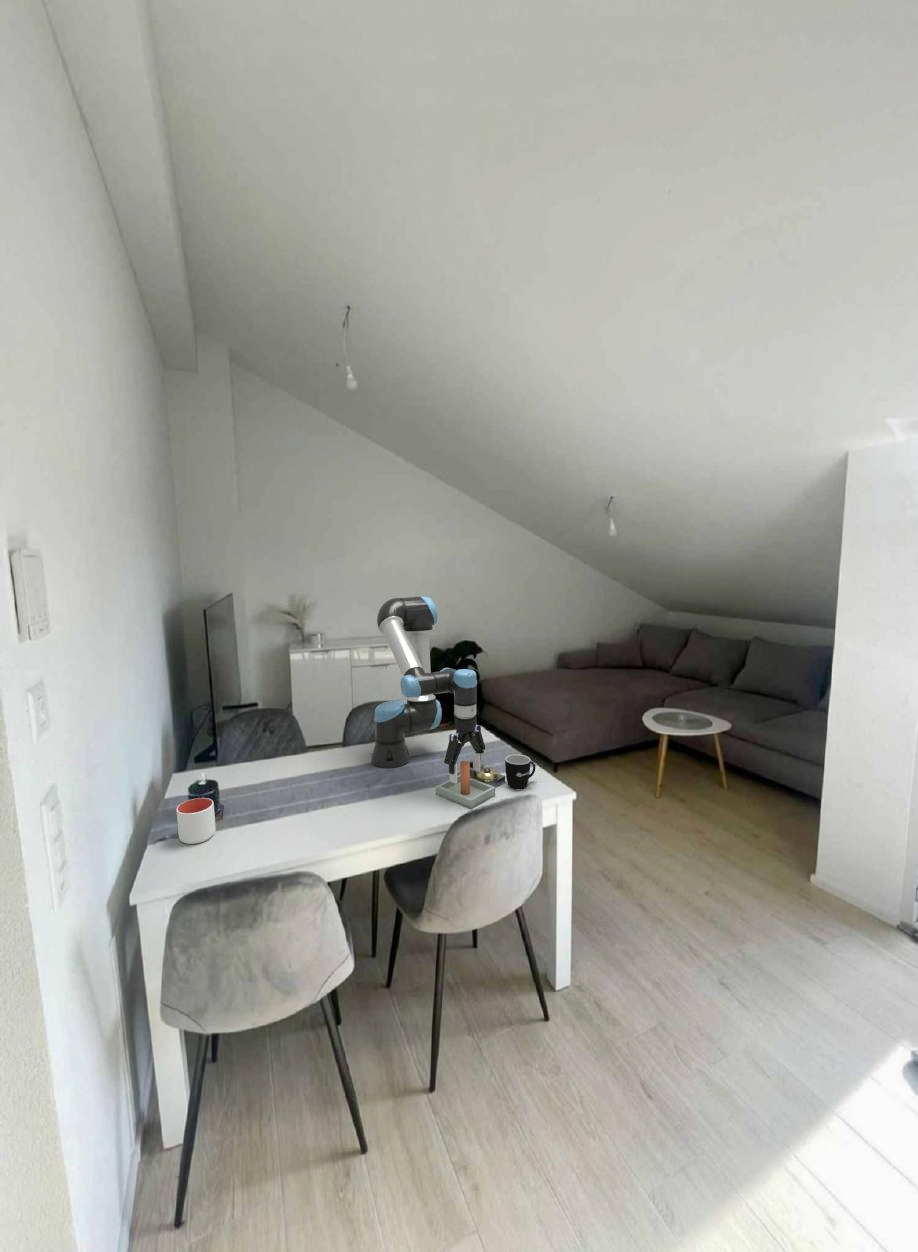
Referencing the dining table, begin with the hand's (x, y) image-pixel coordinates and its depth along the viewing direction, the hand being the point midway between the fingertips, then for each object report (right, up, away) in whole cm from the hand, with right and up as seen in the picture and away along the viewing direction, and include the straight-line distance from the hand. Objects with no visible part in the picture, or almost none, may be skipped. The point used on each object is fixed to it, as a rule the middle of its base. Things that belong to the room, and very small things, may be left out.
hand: (465, 776), depth 192 cm
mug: (+20, -6, +9) cm, 23 cm away
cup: (-81, -12, -25) cm, 85 cm away
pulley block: (+6, -5, +12) cm, 14 cm away
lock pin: (0, -6, +1) cm, 6 cm away
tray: (0, -7, +1) cm, 7 cm away
